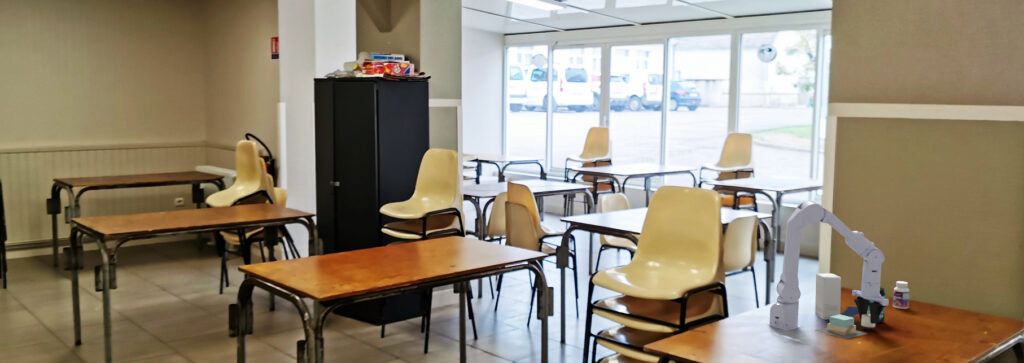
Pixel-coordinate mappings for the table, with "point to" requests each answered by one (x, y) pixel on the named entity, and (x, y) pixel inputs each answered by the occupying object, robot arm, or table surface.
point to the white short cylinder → (866, 321)
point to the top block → (841, 321)
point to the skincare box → (827, 295)
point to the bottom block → (841, 329)
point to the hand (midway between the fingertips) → (868, 321)
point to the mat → (858, 333)
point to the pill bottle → (901, 295)
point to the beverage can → (882, 315)
